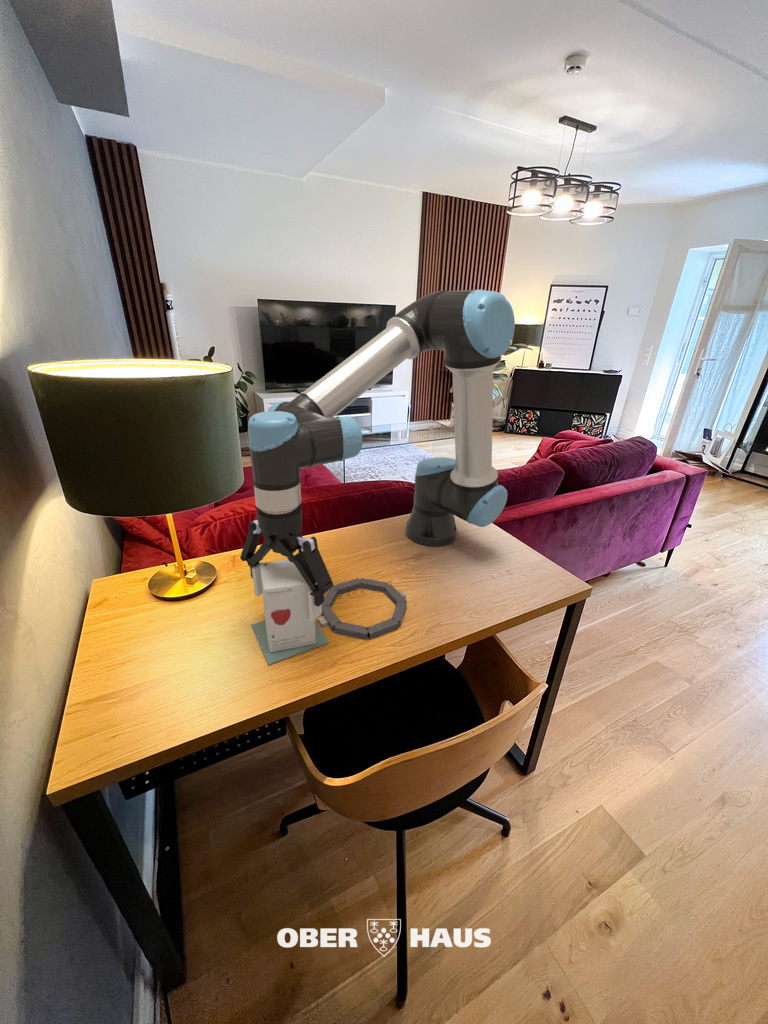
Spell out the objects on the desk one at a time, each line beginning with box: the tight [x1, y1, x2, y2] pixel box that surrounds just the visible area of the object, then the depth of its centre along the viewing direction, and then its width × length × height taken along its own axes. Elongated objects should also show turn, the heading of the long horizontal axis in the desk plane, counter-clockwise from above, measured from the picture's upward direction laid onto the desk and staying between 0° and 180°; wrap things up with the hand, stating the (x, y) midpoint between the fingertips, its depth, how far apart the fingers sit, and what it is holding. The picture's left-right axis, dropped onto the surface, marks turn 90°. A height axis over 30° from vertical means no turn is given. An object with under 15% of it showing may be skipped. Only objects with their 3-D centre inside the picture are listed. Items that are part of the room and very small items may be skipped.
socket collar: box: [316, 577, 408, 641], centre depth 90 cm, size 21×18×2 cm
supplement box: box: [260, 558, 316, 653], centre depth 79 cm, size 9×9×15 cm
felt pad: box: [250, 619, 330, 667], centre depth 82 cm, size 12×12×1 cm
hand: (287, 604), depth 79 cm, fingers open, 13 cm apart
